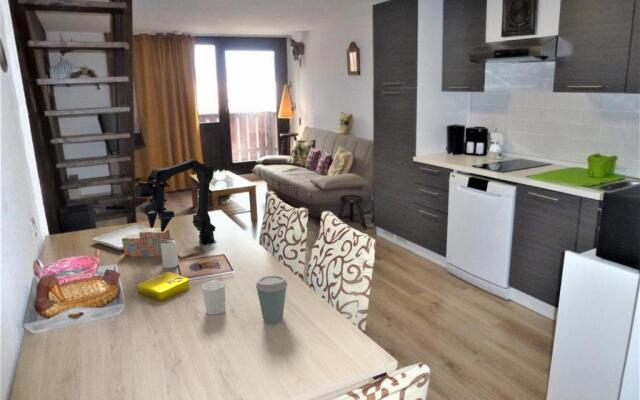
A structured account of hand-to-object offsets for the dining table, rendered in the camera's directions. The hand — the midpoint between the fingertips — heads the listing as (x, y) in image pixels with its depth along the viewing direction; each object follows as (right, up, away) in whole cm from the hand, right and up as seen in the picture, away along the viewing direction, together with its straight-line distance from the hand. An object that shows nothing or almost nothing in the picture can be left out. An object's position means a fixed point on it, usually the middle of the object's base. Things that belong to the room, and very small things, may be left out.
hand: (157, 229), depth 212 cm
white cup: (+38, -26, -48) cm, 66 cm away
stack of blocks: (-8, -13, +10) cm, 18 cm away
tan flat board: (+13, -12, +8) cm, 19 cm away
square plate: (-25, -8, +31) cm, 40 cm away
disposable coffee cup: (+60, -27, -55) cm, 86 cm away
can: (+8, -16, -6) cm, 19 cm away
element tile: (+14, -23, -30) cm, 40 cm away
